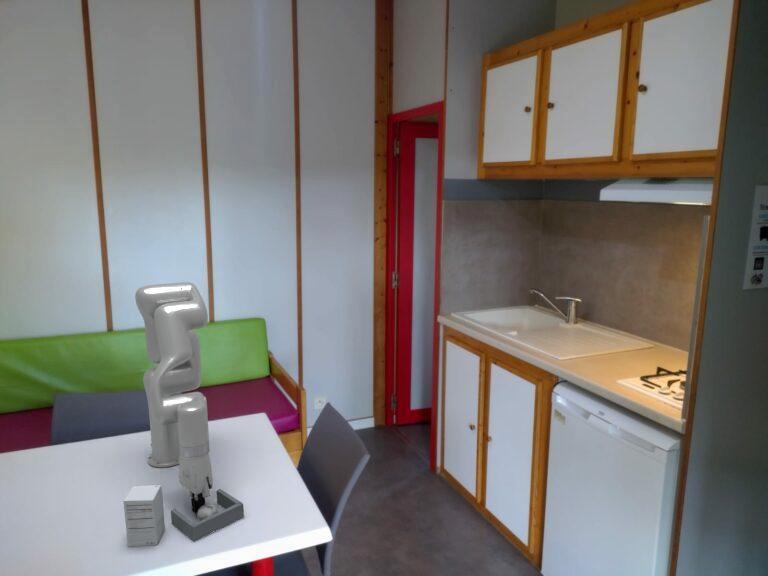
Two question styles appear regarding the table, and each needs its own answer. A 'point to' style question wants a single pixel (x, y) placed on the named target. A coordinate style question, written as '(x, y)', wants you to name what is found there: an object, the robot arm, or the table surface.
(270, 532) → the table surface
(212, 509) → the garlic
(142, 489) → the supplement box
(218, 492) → the box
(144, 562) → the table surface
